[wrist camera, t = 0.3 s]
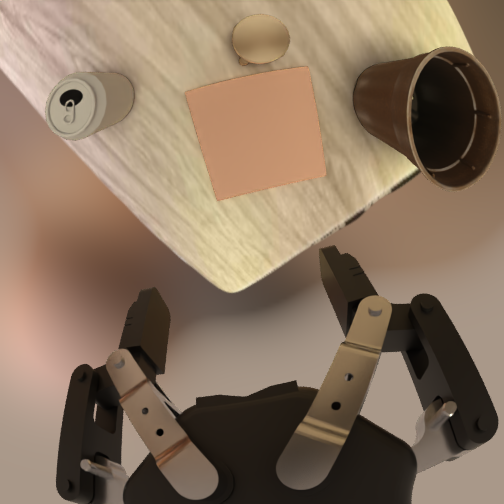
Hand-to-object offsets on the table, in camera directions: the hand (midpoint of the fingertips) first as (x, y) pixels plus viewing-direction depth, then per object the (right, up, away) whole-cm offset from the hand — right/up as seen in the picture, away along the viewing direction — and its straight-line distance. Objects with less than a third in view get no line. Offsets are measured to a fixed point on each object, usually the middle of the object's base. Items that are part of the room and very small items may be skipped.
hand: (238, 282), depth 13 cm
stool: (+1, +27, +15) cm, 31 cm away
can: (-18, +22, +16) cm, 33 cm away
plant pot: (+21, +24, +20) cm, 37 cm away
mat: (+2, +17, +22) cm, 28 cm away
